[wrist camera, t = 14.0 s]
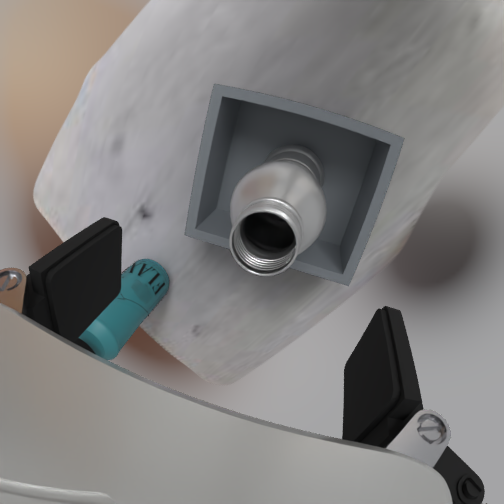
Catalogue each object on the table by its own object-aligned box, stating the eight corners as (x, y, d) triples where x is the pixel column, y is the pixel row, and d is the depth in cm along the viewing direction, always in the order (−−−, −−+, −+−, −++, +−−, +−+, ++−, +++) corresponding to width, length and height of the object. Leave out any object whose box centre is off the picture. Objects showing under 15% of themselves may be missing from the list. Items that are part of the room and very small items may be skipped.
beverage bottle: (183, 275, 43) (106, 375, 26) (160, 300, 46) (87, 394, 28) (149, 243, 42) (55, 327, 25) (128, 271, 45) (43, 354, 28)
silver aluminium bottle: (256, 189, 35) (189, 275, 18) (276, 133, 32) (221, 159, 14) (310, 210, 35) (298, 318, 17) (333, 154, 32) (351, 208, 14)
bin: (236, 89, 32) (214, 83, 25) (386, 132, 31) (404, 138, 23) (209, 211, 39) (184, 235, 32) (344, 252, 37) (348, 286, 30)
